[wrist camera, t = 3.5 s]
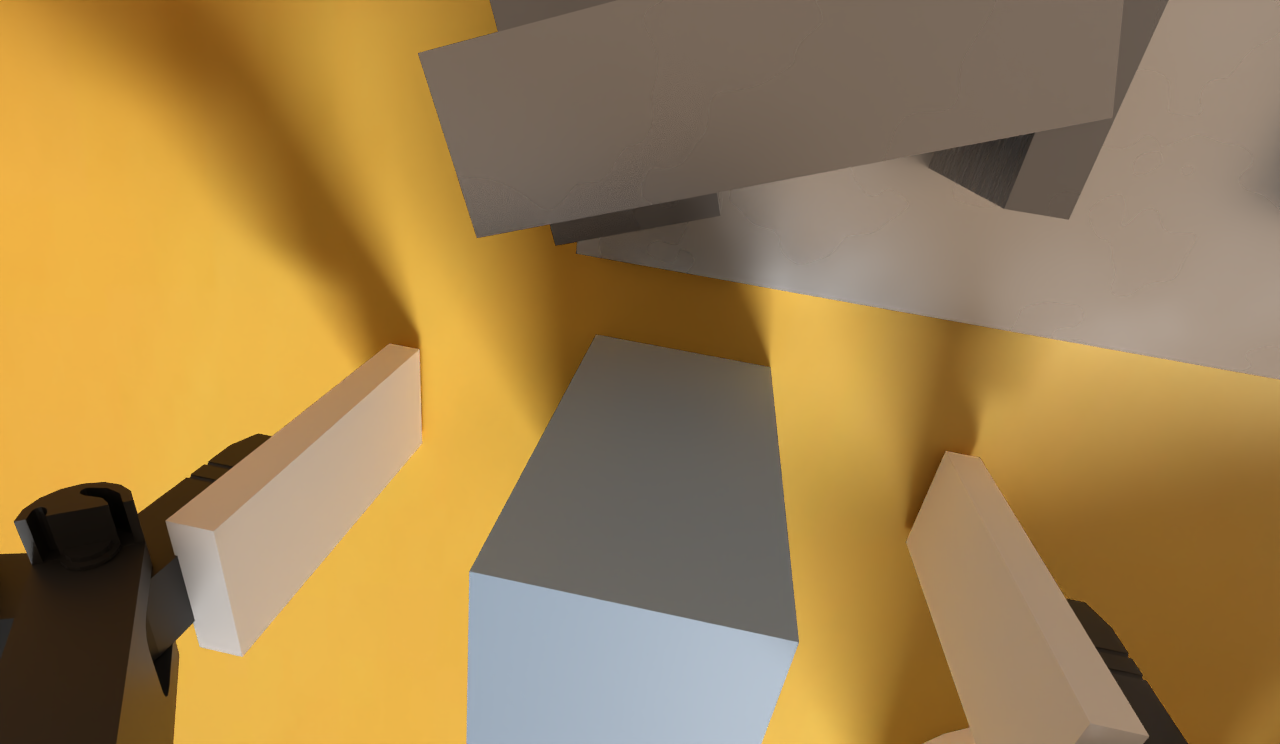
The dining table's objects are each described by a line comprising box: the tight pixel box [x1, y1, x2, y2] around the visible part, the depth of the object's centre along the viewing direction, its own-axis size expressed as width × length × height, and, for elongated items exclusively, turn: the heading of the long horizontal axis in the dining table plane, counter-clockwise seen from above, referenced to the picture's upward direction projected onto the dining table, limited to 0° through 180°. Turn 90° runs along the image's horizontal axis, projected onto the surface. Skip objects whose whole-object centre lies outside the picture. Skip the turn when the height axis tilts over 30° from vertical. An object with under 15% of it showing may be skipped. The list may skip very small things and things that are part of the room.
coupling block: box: [467, 335, 799, 744], centre depth 12 cm, size 5×4×8 cm
